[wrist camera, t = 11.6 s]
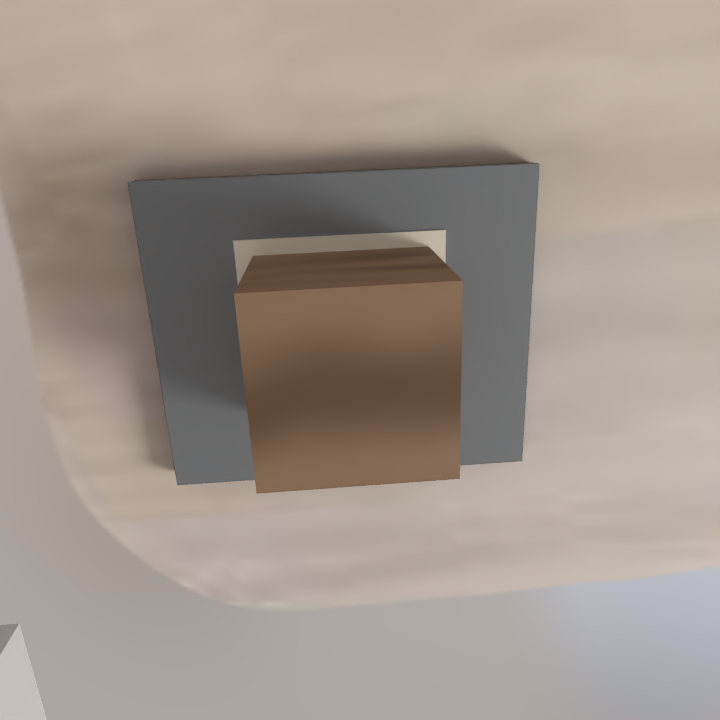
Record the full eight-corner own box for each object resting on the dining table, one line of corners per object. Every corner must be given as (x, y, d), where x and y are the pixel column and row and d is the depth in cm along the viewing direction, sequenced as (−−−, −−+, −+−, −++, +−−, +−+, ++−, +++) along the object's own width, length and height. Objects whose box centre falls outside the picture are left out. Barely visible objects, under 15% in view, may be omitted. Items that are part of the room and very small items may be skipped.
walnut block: (252, 255, 28) (233, 293, 21) (428, 246, 28) (462, 280, 22) (269, 416, 31) (256, 493, 24) (429, 405, 31) (459, 478, 24)
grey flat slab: (135, 180, 28) (127, 182, 26) (530, 162, 29) (540, 163, 27) (182, 472, 33) (177, 486, 32) (515, 450, 34) (522, 461, 33)
